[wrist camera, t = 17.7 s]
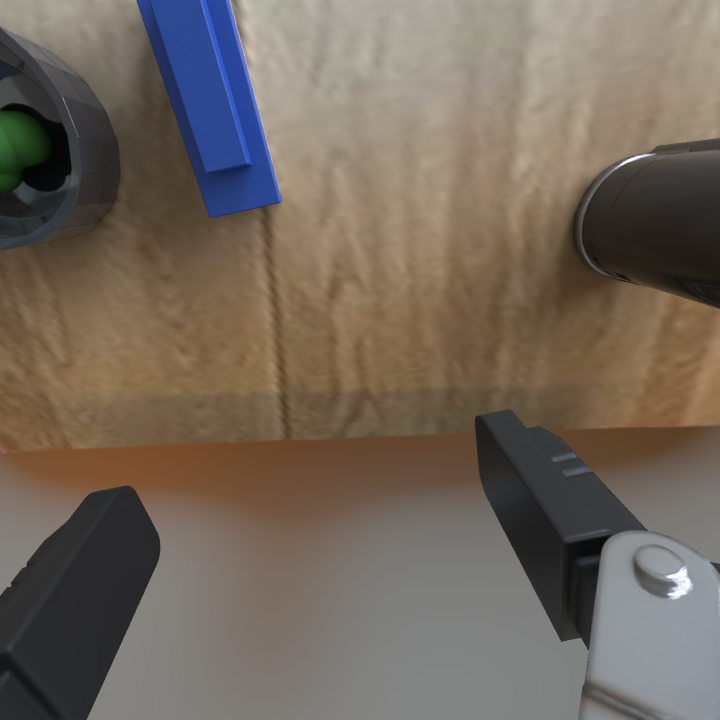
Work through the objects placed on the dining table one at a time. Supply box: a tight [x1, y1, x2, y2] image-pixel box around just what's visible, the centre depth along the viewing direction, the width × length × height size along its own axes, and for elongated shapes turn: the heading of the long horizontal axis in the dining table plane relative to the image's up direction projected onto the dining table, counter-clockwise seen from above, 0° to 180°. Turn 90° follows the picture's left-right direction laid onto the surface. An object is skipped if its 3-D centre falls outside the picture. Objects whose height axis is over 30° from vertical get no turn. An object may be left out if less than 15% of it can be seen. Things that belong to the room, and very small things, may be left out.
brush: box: [137, 0, 282, 218], centre depth 25 cm, size 14×5×6 cm, turn 12°
